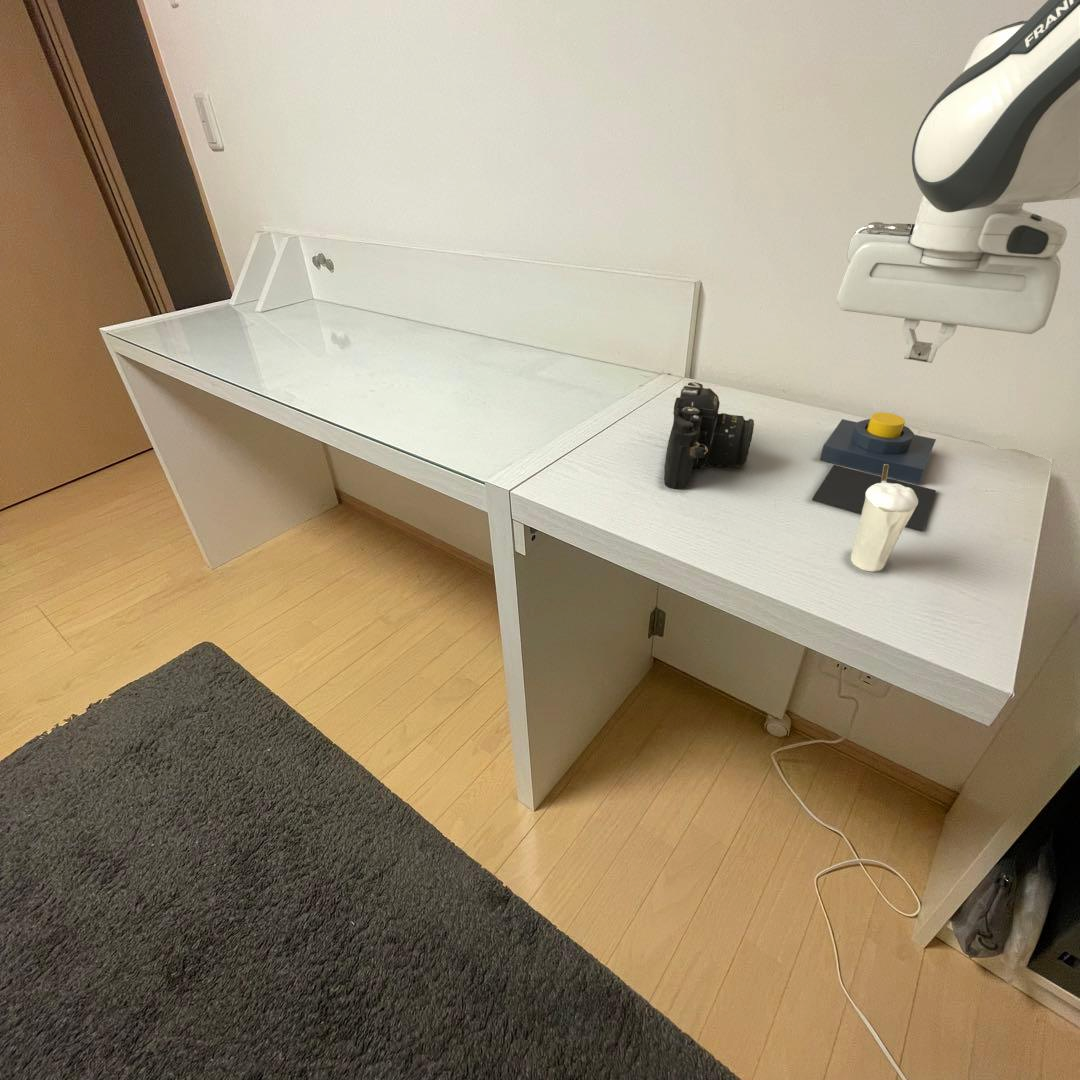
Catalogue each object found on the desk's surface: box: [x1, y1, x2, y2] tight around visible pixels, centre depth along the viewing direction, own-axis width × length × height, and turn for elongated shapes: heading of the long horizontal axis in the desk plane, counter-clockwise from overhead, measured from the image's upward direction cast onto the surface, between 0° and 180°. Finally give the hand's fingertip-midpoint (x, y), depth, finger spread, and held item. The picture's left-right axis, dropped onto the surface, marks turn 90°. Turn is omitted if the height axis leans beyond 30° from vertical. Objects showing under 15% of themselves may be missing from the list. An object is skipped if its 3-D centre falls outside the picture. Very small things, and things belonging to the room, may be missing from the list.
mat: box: [811, 464, 937, 532], centre depth 74 cm, size 12×10×1 cm
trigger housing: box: [819, 418, 937, 486], centre depth 82 cm, size 12×10×4 cm
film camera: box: [663, 381, 755, 490], centre depth 80 cm, size 18×12×10 cm
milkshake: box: [850, 464, 918, 573], centre depth 61 cm, size 4×5×10 cm
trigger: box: [867, 411, 906, 438], centre depth 80 cm, size 4×4×2 cm
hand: (918, 359), depth 71 cm, fingers closed
